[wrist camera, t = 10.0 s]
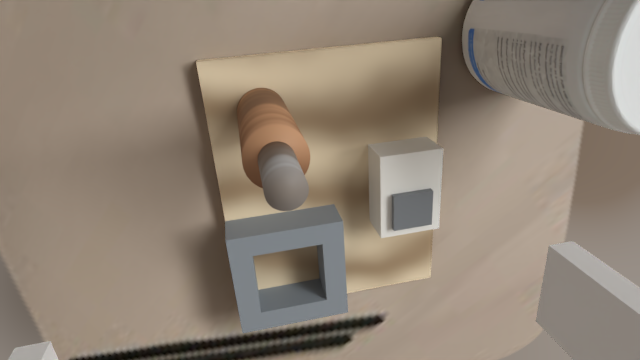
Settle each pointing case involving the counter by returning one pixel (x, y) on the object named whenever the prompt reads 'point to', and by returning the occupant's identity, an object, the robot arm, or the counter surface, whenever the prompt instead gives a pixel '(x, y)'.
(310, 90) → the plywood panel
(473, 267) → the counter surface
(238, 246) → the socket
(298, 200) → the awl
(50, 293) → the counter surface
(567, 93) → the supplement tub
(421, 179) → the block
